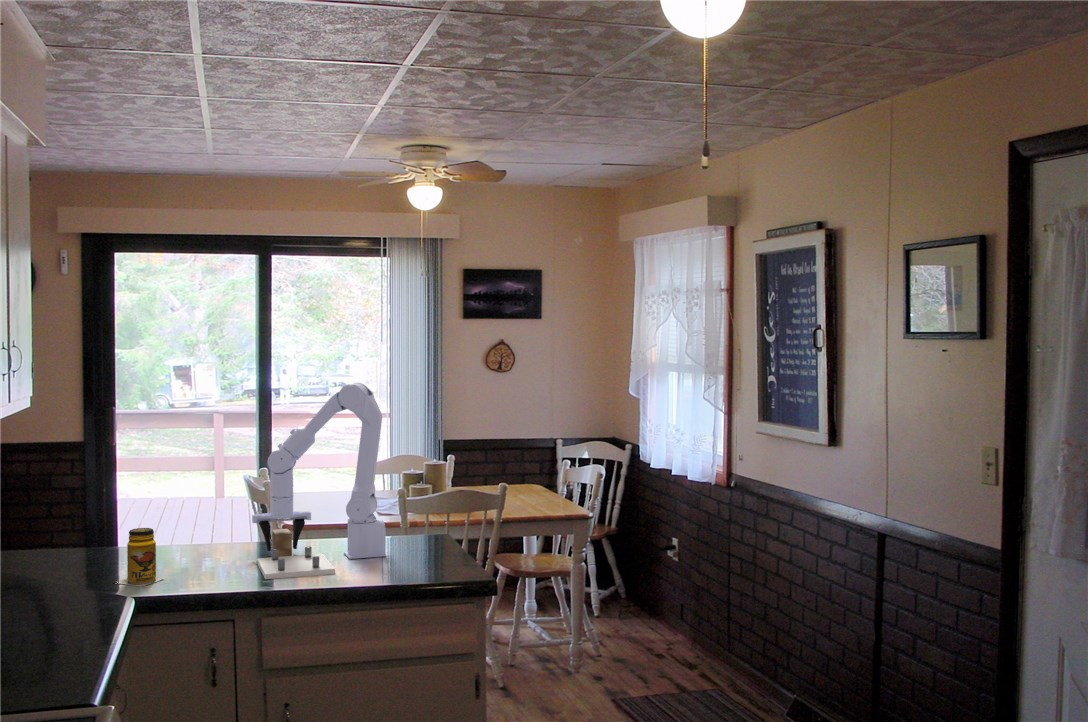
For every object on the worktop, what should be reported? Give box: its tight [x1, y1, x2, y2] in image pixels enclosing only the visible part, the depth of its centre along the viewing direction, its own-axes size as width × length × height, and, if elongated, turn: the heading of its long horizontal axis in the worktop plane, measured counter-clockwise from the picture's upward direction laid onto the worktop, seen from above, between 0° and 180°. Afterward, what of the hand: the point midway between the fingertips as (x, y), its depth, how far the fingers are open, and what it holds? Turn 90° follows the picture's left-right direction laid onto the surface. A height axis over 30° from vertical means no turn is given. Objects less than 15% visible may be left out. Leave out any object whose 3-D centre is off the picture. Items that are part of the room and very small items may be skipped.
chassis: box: [256, 546, 336, 580], centre depth 245 cm, size 16×18×4 cm
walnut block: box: [271, 528, 293, 557], centre depth 261 cm, size 4×8×6 cm, turn 22°
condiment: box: [116, 527, 165, 587], centre depth 231 cm, size 7×8×12 cm
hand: (281, 549), depth 261 cm, fingers open, 6 cm apart
